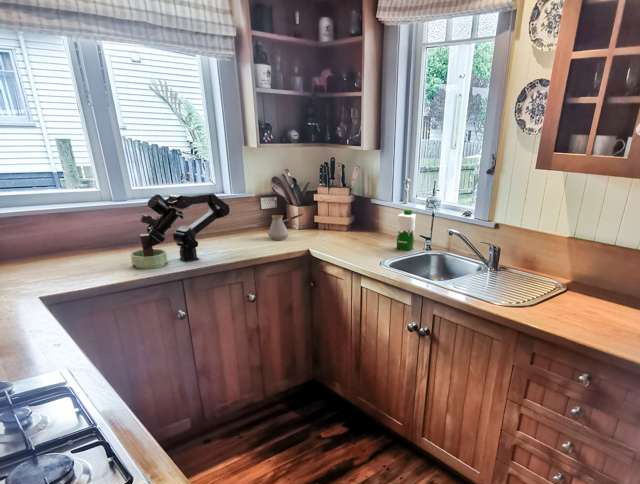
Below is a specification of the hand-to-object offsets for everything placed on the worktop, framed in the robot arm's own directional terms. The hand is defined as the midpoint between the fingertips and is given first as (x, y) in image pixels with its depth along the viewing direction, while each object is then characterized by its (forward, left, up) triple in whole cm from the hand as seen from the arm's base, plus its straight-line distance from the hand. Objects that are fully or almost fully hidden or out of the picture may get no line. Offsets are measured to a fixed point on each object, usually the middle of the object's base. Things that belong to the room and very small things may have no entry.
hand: (143, 246), depth 205 cm
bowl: (-1, +1, -8) cm, 9 cm away
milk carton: (-110, +65, -9) cm, 128 cm away
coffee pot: (-79, +5, -9) cm, 80 cm away
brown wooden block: (-1, +1, -7) cm, 7 cm away
